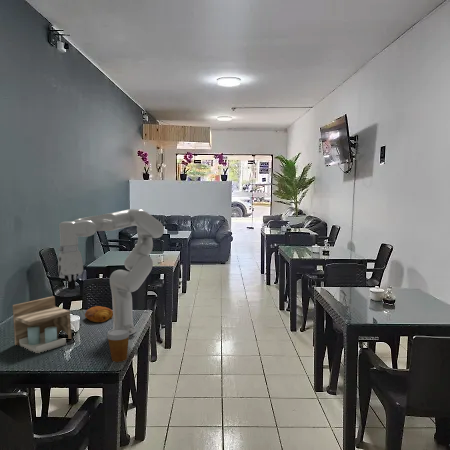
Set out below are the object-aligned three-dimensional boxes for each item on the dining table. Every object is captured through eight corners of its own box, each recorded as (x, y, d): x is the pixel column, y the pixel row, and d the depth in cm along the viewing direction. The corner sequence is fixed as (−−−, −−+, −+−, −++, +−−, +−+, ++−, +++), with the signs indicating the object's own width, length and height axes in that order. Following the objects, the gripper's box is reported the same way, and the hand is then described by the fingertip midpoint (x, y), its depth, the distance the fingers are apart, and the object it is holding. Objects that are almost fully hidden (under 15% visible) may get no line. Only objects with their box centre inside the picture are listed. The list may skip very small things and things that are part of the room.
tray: (66, 344, 200) (65, 327, 199) (37, 354, 189) (36, 335, 188) (48, 337, 210) (47, 320, 209) (19, 345, 199) (18, 328, 198)
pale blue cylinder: (59, 343, 199) (58, 327, 198) (49, 347, 195) (48, 331, 194) (53, 341, 202) (52, 325, 201) (43, 344, 198) (42, 328, 197)
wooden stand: (71, 339, 206) (69, 300, 204) (30, 352, 191) (28, 310, 189) (55, 333, 216) (53, 296, 214) (15, 344, 200) (12, 305, 198)
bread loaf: (92, 328, 228) (91, 314, 226) (81, 317, 240) (81, 304, 238) (117, 322, 237) (117, 308, 235) (106, 312, 249) (106, 299, 247)
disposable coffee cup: (110, 355, 186) (108, 328, 185) (132, 354, 187) (131, 327, 186) (105, 364, 177) (104, 336, 175) (129, 363, 177) (128, 335, 176)
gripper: (58, 251, 184) (60, 293, 186) (88, 247, 195) (90, 287, 197) (49, 250, 189) (51, 291, 190) (79, 246, 200) (81, 284, 202)
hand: (71, 289), depth 194 cm, fingers closed
